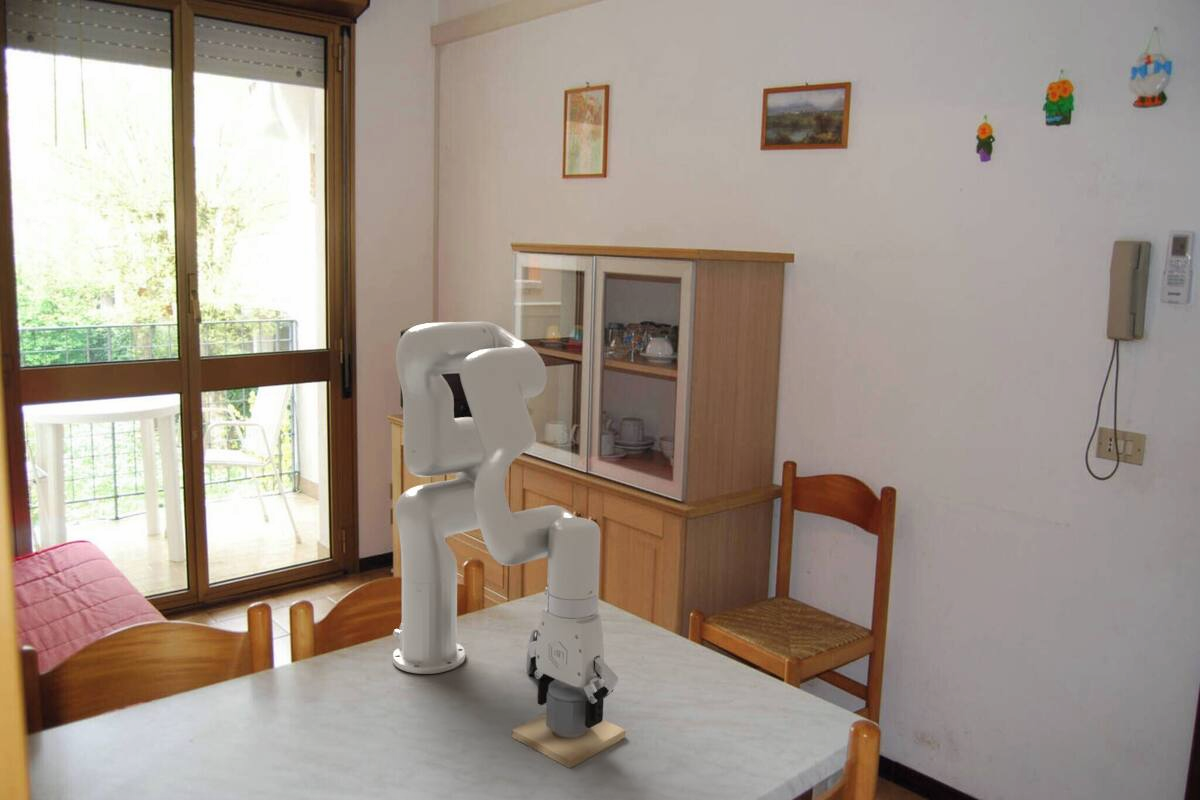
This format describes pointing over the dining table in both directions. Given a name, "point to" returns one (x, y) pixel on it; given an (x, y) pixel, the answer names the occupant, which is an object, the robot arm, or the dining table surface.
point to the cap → (566, 708)
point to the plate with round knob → (568, 740)
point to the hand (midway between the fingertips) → (569, 712)
